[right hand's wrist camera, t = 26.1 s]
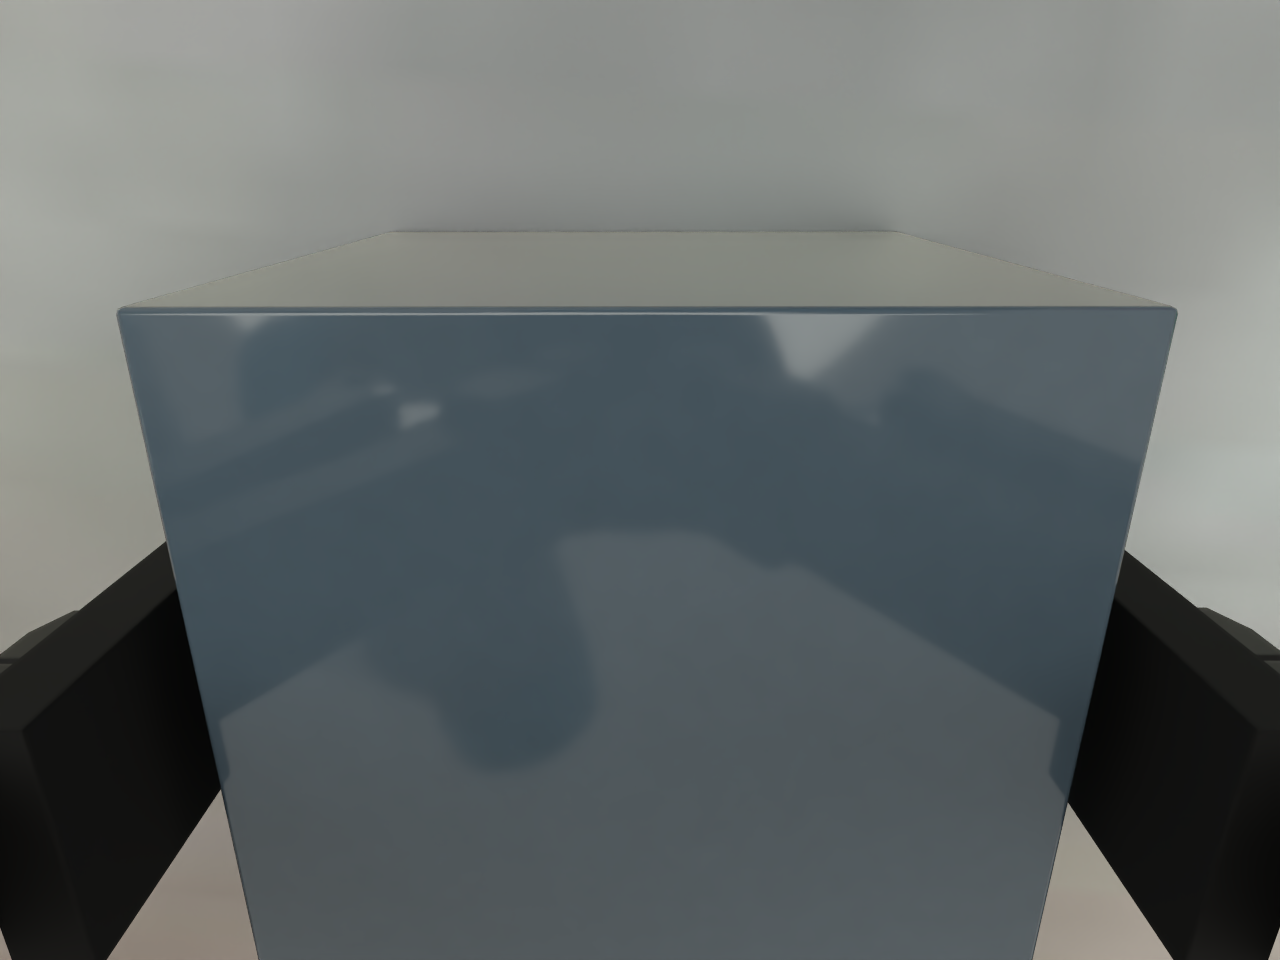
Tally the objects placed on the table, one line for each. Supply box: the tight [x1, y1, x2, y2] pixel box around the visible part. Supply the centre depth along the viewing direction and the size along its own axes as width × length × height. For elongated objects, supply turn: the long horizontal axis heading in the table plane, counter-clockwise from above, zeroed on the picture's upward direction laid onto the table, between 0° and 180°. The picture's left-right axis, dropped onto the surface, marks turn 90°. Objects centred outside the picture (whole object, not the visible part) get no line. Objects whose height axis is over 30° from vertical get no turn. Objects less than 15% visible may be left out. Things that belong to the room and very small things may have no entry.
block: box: [117, 231, 1178, 960], centre depth 12 cm, size 9×9×8 cm
